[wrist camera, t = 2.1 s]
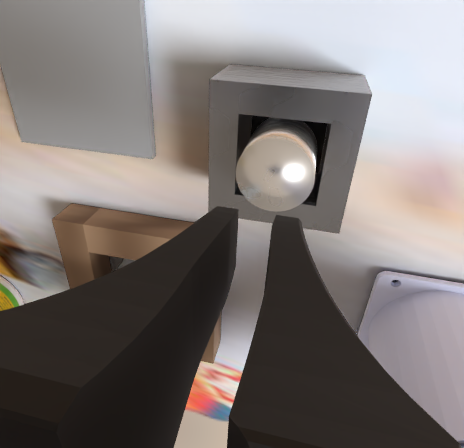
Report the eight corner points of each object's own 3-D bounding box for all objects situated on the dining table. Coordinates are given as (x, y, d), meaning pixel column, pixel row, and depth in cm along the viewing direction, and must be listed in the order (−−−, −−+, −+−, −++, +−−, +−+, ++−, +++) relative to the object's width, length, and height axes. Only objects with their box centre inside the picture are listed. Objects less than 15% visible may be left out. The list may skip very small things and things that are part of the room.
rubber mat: (142, -18, 16) (137, -18, 16) (155, 155, 20) (152, 159, 20) (-17, -26, 17) (-25, -26, 17) (27, 138, 22) (21, 141, 21)
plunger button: (322, 119, 15) (321, 143, 13) (311, 183, 17) (308, 216, 15) (252, 111, 16) (237, 134, 14) (247, 175, 18) (234, 205, 15)
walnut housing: (224, 227, 22) (215, 246, 20) (220, 340, 27) (213, 363, 26) (71, 203, 24) (52, 219, 22) (96, 314, 29) (82, 334, 27)
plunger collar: (364, 75, 16) (372, 94, 13) (337, 197, 19) (338, 233, 16) (230, 64, 17) (209, 79, 14) (225, 181, 20) (208, 213, 17)
